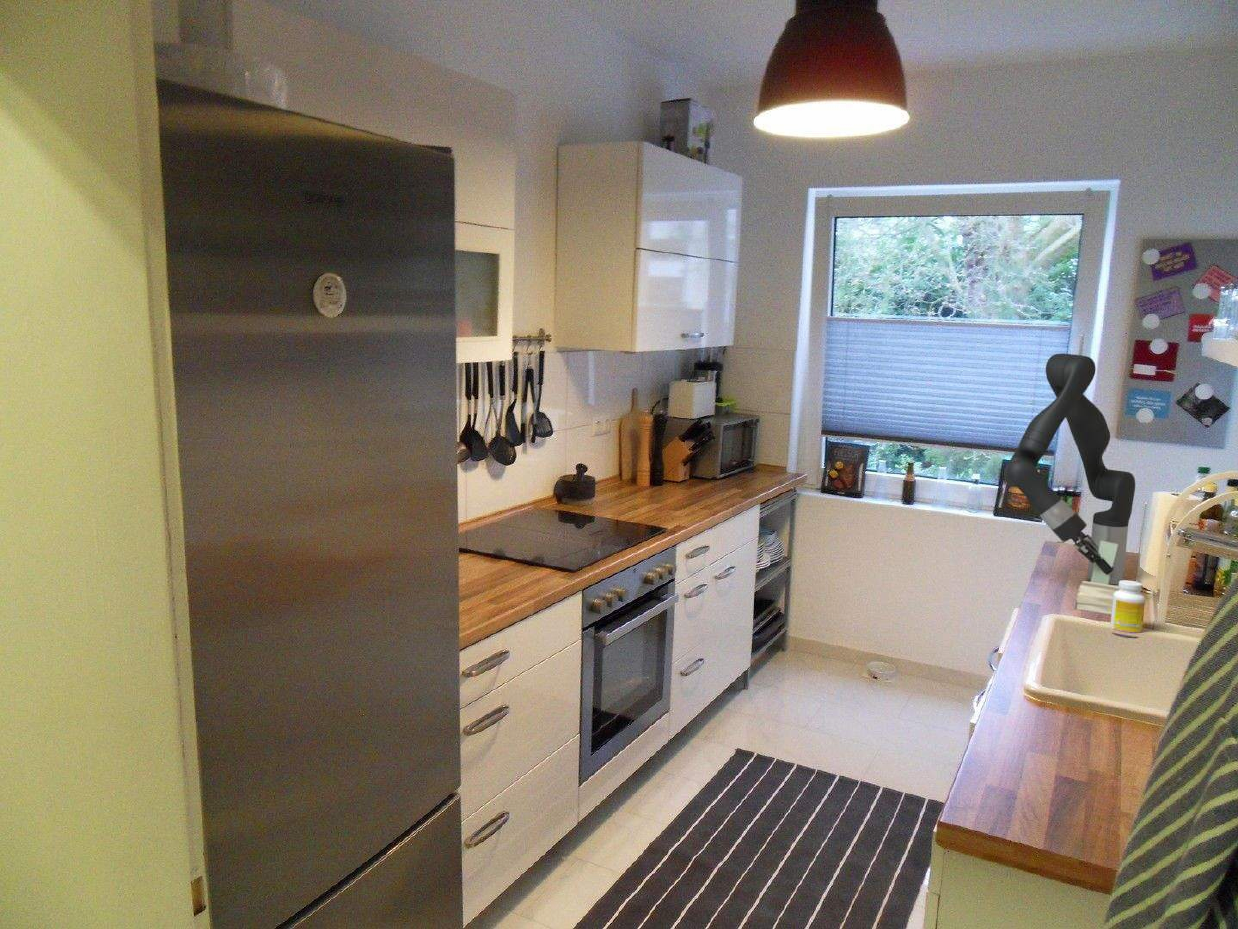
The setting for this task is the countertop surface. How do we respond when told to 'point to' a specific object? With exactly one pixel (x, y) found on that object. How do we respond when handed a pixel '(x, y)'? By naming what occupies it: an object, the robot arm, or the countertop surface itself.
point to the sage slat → (1108, 555)
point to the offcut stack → (1096, 597)
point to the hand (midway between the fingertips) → (1110, 571)
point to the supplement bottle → (1128, 609)
